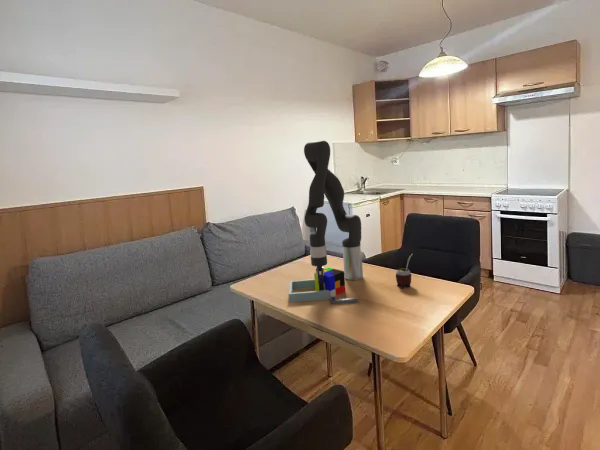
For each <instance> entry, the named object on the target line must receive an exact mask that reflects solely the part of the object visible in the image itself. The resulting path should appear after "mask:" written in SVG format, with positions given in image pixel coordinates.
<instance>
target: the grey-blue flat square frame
mask: <svg viewBox="0 0 600 450" xmlns="http://www.w3.org/2000/svg"><path fill="white" fill-rule="evenodd" d="M300 289H301V290H302V289H315V278H311V279H300V280H289V288H288V299H289V302H288V303H298V302H299V303H301V302H312V301H323V300H330V297H329V290H322V291H316V290H313V291H302V292H300V291H299V292H298V291H297V292H294V290H300Z"/></svg>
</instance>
